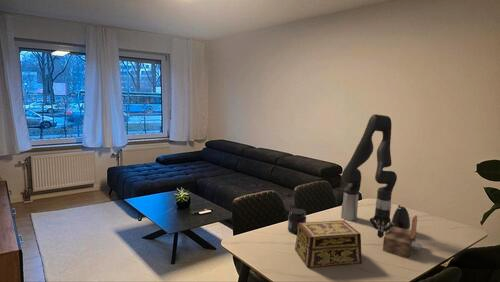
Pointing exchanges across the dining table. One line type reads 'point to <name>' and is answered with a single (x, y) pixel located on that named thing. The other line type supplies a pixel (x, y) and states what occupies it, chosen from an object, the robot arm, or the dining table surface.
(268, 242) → the dining table surface
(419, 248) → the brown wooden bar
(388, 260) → the dining table surface
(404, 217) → the dark egg shape
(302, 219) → the supplement container
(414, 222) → the keeper flap
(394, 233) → the walnut block
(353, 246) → the decorative box
